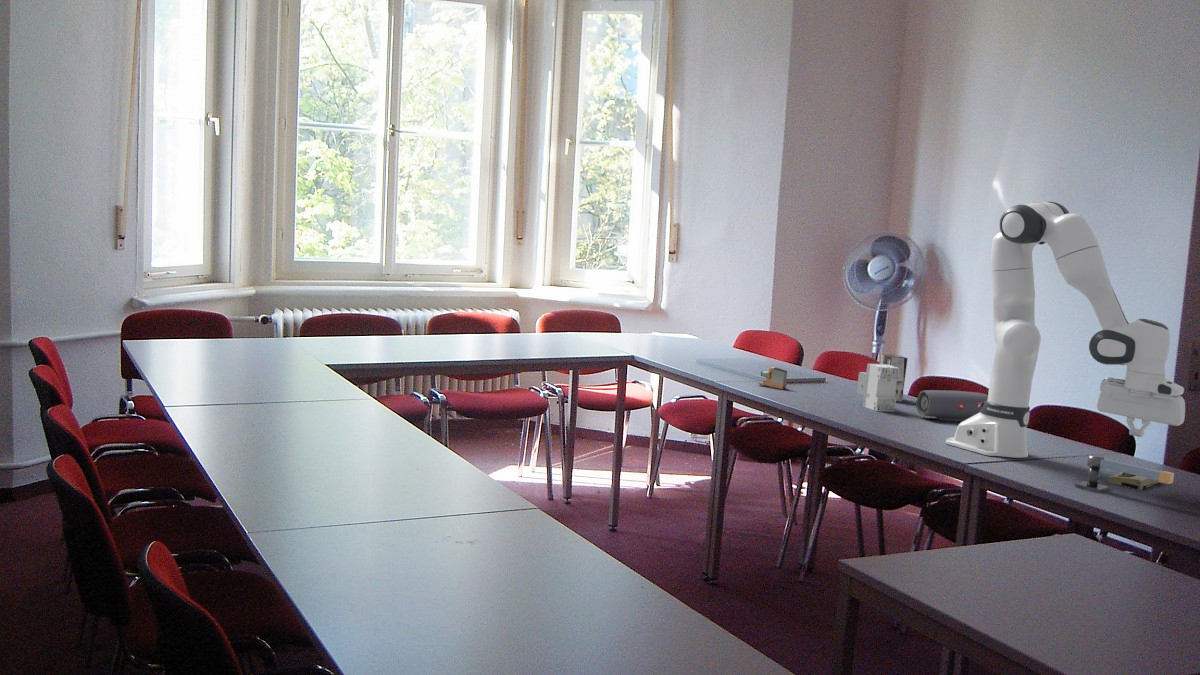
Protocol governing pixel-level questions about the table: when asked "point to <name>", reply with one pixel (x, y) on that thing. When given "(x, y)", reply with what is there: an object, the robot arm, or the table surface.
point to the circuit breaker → (878, 387)
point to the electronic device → (774, 378)
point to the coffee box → (901, 364)
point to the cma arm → (1130, 469)
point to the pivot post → (1092, 481)
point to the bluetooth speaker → (949, 404)
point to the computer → (1132, 481)
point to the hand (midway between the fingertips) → (1136, 435)
